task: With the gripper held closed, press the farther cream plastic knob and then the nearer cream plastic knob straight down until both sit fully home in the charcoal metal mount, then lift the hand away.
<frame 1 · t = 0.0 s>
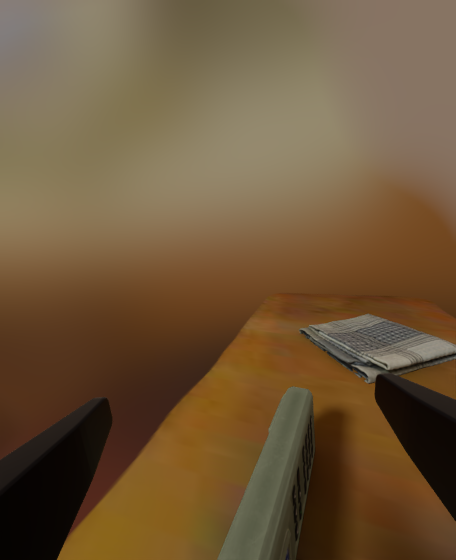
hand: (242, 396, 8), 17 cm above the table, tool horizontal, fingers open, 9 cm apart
dish towel: (369, 347, 42), on the table
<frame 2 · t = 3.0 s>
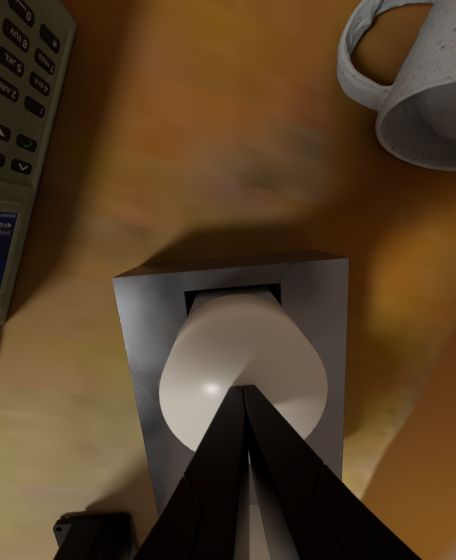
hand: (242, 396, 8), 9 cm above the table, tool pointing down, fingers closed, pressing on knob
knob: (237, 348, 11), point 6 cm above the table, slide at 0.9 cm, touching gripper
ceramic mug: (408, 93, 14), on the table
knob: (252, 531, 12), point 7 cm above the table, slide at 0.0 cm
mount: (237, 370, 18), on the table
handheld radio: (13, 227, 15), on the table
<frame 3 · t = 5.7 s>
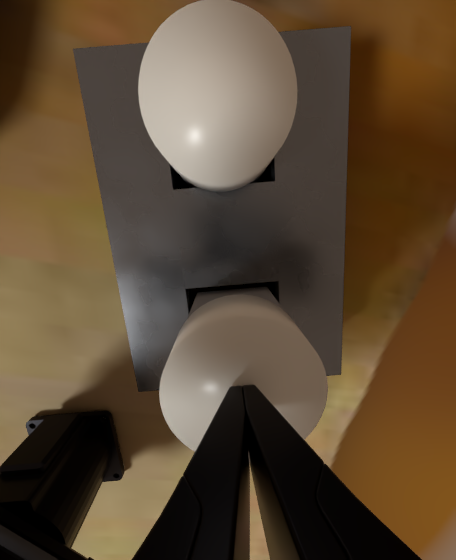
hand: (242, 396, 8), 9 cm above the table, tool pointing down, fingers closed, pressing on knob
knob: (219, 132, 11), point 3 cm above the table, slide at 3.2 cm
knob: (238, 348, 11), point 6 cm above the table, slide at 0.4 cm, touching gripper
mount: (226, 235, 16), on the table
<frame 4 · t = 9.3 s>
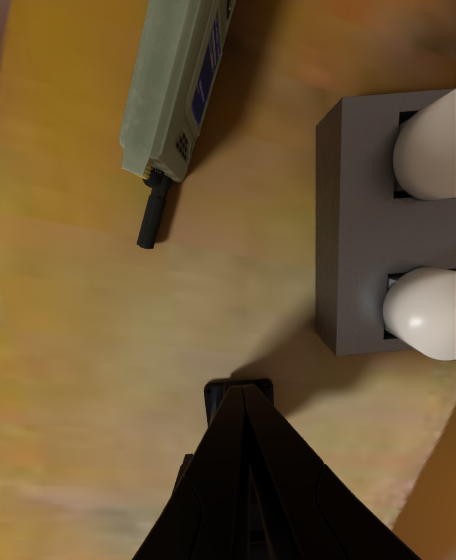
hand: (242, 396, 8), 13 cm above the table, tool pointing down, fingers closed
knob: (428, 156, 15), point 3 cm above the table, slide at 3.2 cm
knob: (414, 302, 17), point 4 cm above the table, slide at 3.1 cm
mount: (386, 233, 20), on the table
handheld radio: (193, 86, 17), on the table
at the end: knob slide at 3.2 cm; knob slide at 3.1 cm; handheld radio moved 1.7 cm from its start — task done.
